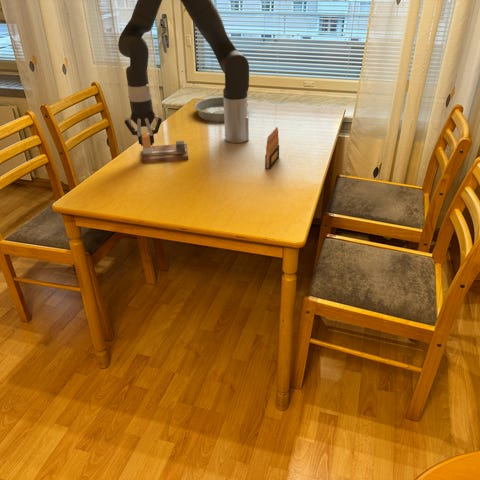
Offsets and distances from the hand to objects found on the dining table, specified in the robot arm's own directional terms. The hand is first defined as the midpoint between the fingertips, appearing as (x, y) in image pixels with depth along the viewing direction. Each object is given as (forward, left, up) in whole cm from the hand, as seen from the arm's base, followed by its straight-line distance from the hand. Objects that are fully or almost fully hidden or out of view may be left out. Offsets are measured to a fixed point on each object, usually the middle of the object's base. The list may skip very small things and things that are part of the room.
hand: (146, 144), depth 167 cm
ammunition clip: (-45, +12, -6) cm, 46 cm away
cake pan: (-32, -45, -6) cm, 56 cm away
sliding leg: (0, -2, -4) cm, 4 cm away
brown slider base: (-6, -2, -6) cm, 9 cm away
